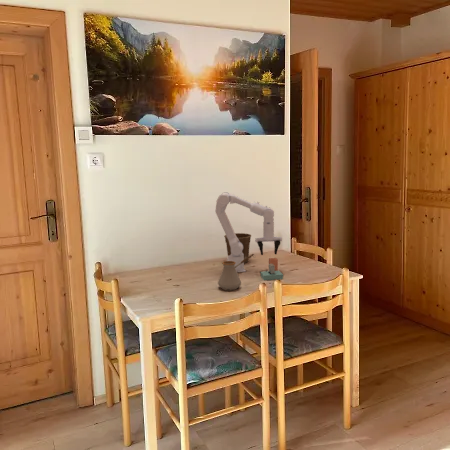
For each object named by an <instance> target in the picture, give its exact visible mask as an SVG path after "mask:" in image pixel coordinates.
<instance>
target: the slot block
mask: <svg viewBox="0 0 450 450" xmlns="http://www.w3.org/2000/svg"><path fill="white" fill-rule="evenodd" d="M260 278H262V280H263V281H273V280H274V279H277V280H283V278H284V274H283V273H282V272H281V271H280V270H278V271H275V274H272V275H270V274H269V270H264V271H260ZM274 281H275V280H274Z"/></svg>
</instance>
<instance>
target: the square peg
mask: <svg viewBox="0 0 450 450" xmlns="http://www.w3.org/2000/svg"><path fill="white" fill-rule="evenodd" d="M278 262H279V260H278V258H276V257H272V258H271V257H270V258H268V265H269V264H273V265H274V266H275V271H279V269H278V267H279V266H278V264H279V263H278Z"/></svg>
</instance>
